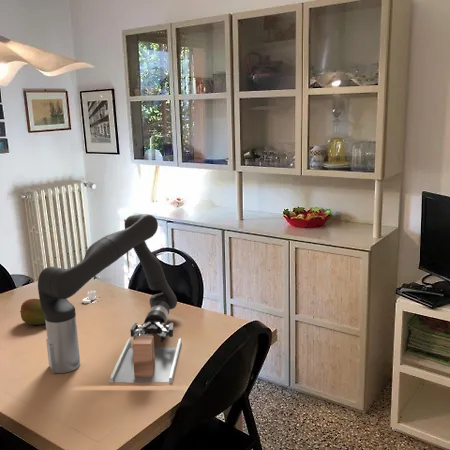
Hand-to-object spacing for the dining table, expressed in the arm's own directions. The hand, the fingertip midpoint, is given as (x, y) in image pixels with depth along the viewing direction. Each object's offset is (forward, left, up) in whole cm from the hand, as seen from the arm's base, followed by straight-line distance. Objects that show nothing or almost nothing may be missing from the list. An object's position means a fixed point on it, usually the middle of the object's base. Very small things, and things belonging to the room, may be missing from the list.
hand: (149, 339), depth 164 cm
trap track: (-1, -3, -7) cm, 8 cm away
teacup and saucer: (-6, +64, -8) cm, 65 cm away
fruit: (-27, +49, -7) cm, 57 cm away
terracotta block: (-5, -9, -6) cm, 12 cm away
